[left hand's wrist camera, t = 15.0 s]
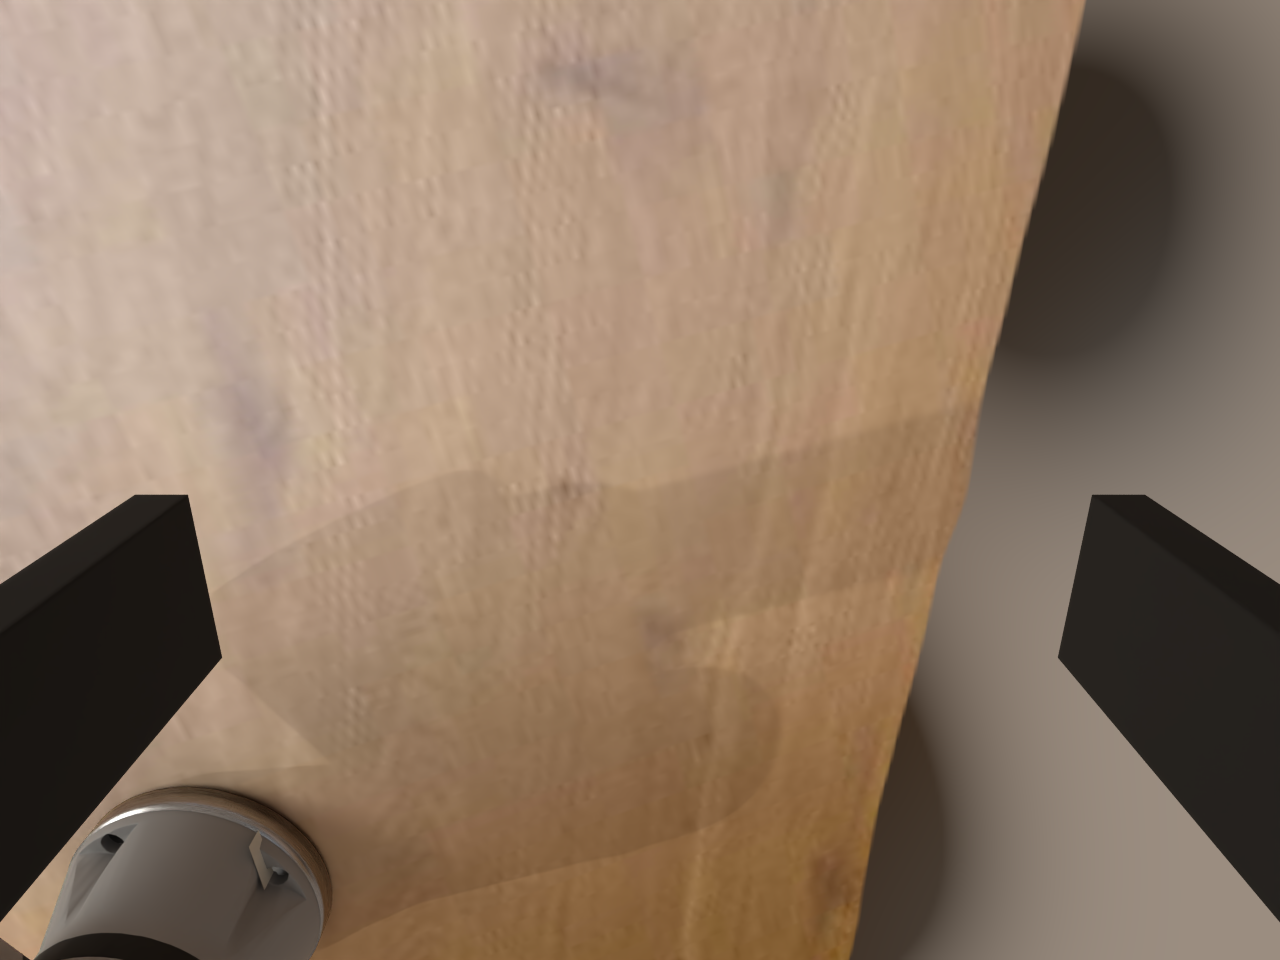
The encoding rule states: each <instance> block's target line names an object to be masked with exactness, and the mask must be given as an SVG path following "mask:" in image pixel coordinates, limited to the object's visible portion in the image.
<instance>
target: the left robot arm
mask: <svg viewBox="0 0 1280 960" xmlns="http://www.w3.org/2000/svg"><path fill="white" fill-rule="evenodd" d="M221 658H222V655H221V650H220V645H219V641H218V636H217V631H216V626H215V622H214V617H213V612H212V607H211V603H210V598H209V593H208V588H207V584H206V579H205V574H204V569H203V564H202V560H201V555H200V550H199V545H198V541H197V536H196V531H195V526H194V522H193V517H192V512H191V507H190V503H189V498H188V495H134V496H133V497H131V498H130V499H128V500H127V501H125V502H124V503H122V504H120V505H119V506H117V507H116V508H114V509H113V510H111V511H110V512H108V513H107V514H105V515H104V516H102V517H101V518H99V519H98V520H96V521H95V522H93V523H92V524H90V525H89V526H87V527H86V528H84V529H83V530H81V531H80V532H78V533H77V534H75V535H74V536H72V537H71V538H69V539H68V540H66V541H65V542H63V543H62V544H60V545H59V546H57V547H56V548H54V549H53V550H51V551H50V552H48V553H47V554H45V555H44V556H42V557H41V558H39V559H38V560H36V561H35V562H33V563H32V564H30V565H29V566H27V567H26V568H24V569H23V570H21V571H20V572H18V573H17V574H15V575H14V576H12V577H11V578H9V579H8V580H6V581H5V582H3V583H2V584H0V922H1V920H2V919H3V918H4V917H5V916H6V915H7V913H8V912H9V911H10V910H11V909H12V907H13V906H14V905H15V904H16V903H17V901H18V900H19V899H20V898H21V897H22V895H23V894H24V893H25V892H26V891H27V889H28V888H29V887H30V886H31V885H32V884H33V882H34V881H35V880H36V879H37V878H38V876H39V875H40V874H41V873H42V872H43V870H44V869H45V868H46V867H47V866H48V864H49V863H50V862H51V861H52V860H53V859H54V857H55V856H56V855H57V854H58V853H59V851H60V850H61V849H62V848H63V847H64V845H65V844H66V843H67V842H68V841H69V839H70V838H71V837H72V836H73V835H74V833H75V832H76V831H77V830H78V829H79V828H80V826H81V825H82V824H83V823H84V822H85V820H86V819H87V818H88V817H89V816H90V814H91V813H92V812H93V811H94V810H95V808H96V807H97V806H98V805H99V804H100V802H101V801H102V800H103V799H104V798H105V797H106V795H107V794H108V793H109V792H110V791H111V789H112V788H113V787H114V786H115V785H116V783H117V782H118V781H119V780H120V779H121V777H122V776H123V775H124V774H125V773H126V771H127V770H128V769H129V768H130V767H131V766H132V764H133V763H134V762H135V761H136V760H137V758H138V757H139V756H140V755H141V754H142V752H143V751H144V750H145V749H146V748H147V746H148V745H149V744H150V743H151V742H152V740H153V739H154V738H155V737H156V736H157V735H158V733H159V732H160V731H161V730H162V729H163V727H164V726H165V725H166V724H167V723H168V721H169V720H170V719H171V718H172V717H173V715H174V714H175V713H176V712H177V711H178V709H179V708H180V707H181V706H182V705H183V704H184V702H185V701H186V700H187V699H188V698H189V696H190V695H191V694H192V693H193V692H194V690H195V689H196V688H197V687H198V686H199V684H200V683H201V682H202V681H203V680H204V678H205V677H206V676H207V675H208V674H209V673H210V671H211V670H212V669H213V668H214V667H215V665H216V664H217V663H218V662H219V661H220V659H221ZM1058 658H1059V659H1060V661H1061V662H1062V663H1063V664H1064V665H1065V667H1066V668H1067V669H1068V670H1069V671H1070V673H1071V674H1072V675H1073V676H1074V677H1075V678H1076V680H1077V681H1078V682H1079V683H1080V684H1081V686H1082V687H1083V688H1084V689H1085V690H1086V692H1087V693H1088V694H1089V695H1090V696H1091V698H1092V699H1093V700H1094V701H1095V702H1096V703H1097V705H1098V706H1099V707H1100V708H1101V709H1102V711H1103V712H1104V713H1105V714H1106V715H1107V717H1108V718H1109V719H1110V720H1111V721H1112V723H1113V724H1114V725H1115V726H1116V727H1117V729H1118V730H1119V731H1120V732H1121V733H1122V735H1123V736H1124V737H1125V738H1126V739H1127V740H1128V742H1129V743H1130V744H1131V745H1132V746H1133V748H1134V749H1135V750H1136V751H1137V752H1138V754H1139V755H1140V756H1141V757H1142V758H1143V760H1144V761H1145V762H1146V763H1147V764H1148V766H1149V767H1150V768H1151V769H1152V770H1153V771H1154V773H1155V774H1156V775H1157V776H1158V777H1159V779H1160V780H1161V781H1162V782H1163V783H1164V785H1165V786H1166V787H1167V788H1168V789H1169V791H1170V792H1171V793H1172V794H1173V795H1174V797H1175V798H1176V799H1177V800H1178V801H1179V802H1180V804H1181V805H1182V806H1183V807H1184V808H1185V810H1186V811H1187V812H1188V813H1189V814H1190V815H1191V817H1192V818H1193V819H1194V820H1195V822H1196V823H1197V824H1198V825H1199V826H1200V828H1201V829H1202V830H1203V831H1204V832H1205V833H1206V835H1207V836H1208V837H1209V838H1210V839H1211V841H1212V842H1213V843H1214V844H1215V845H1216V847H1217V848H1218V849H1219V850H1220V851H1221V853H1222V854H1223V855H1224V856H1225V857H1226V859H1227V860H1228V861H1229V862H1230V863H1231V864H1232V866H1233V867H1234V868H1235V869H1236V870H1237V872H1238V873H1239V874H1240V875H1241V876H1242V878H1243V879H1244V880H1245V881H1246V882H1247V884H1248V885H1249V886H1250V887H1251V888H1252V889H1253V891H1254V892H1255V893H1256V894H1257V895H1258V897H1259V898H1260V899H1261V900H1262V901H1263V903H1264V904H1265V905H1266V906H1267V907H1268V909H1269V910H1270V911H1271V912H1272V913H1273V915H1274V916H1275V917H1276V918H1277V919H1278V920H1279V922H1280V584H1278V583H1277V582H1275V581H1274V580H1272V579H1271V578H1269V577H1268V576H1266V575H1265V574H1263V573H1262V572H1260V571H1259V570H1257V569H1256V568H1254V567H1253V566H1251V565H1250V564H1248V563H1247V562H1245V561H1244V560H1242V559H1241V558H1239V557H1238V556H1236V555H1235V554H1233V553H1232V552H1230V551H1229V550H1227V549H1226V548H1224V547H1223V546H1221V545H1220V544H1218V543H1217V542H1215V541H1214V540H1212V539H1211V538H1209V537H1208V536H1206V535H1205V534H1203V533H1202V532H1200V531H1199V530H1197V529H1196V528H1194V527H1193V526H1191V525H1190V524H1188V523H1187V522H1185V521H1184V520H1182V519H1181V518H1179V517H1178V516H1176V515H1175V514H1173V513H1172V512H1170V511H1169V510H1167V509H1165V508H1164V507H1162V506H1161V505H1159V504H1158V503H1156V502H1155V501H1153V500H1152V499H1150V498H1149V497H1147V496H1146V495H1092V498H1091V503H1090V507H1089V512H1088V517H1087V522H1086V526H1085V531H1084V536H1083V541H1082V545H1081V550H1080V555H1079V560H1078V565H1077V569H1076V574H1075V579H1074V584H1073V588H1072V593H1071V598H1070V603H1069V607H1068V612H1067V617H1066V622H1065V626H1064V631H1063V636H1062V641H1061V645H1060V650H1059V655H1058ZM331 904H332V888H331V882H330V878H329V874H328V871H327V869H326V866H325V864H324V862H323V860H322V858H321V857H320V855H319V853H318V852H317V850H316V849H315V847H314V846H313V845H312V843H311V842H310V841H309V840H308V839H307V838H306V836H304V835H303V834H302V833H301V832H300V831H299V830H298V829H297V828H296V827H295V826H294V825H293V824H291V823H290V822H289V821H288V820H286V819H285V818H283V817H282V816H280V815H279V814H277V813H276V812H274V811H272V810H271V809H269V808H267V807H265V806H263V805H261V804H259V803H257V802H254V801H252V800H249V799H247V798H244V797H241V796H238V795H235V794H232V793H228V792H224V791H219V790H213V789H207V788H196V787H176V788H166V789H159V790H154V791H150V792H146V793H143V794H140V795H137V796H135V797H133V798H130V799H128V800H126V801H124V802H123V803H121V804H119V805H118V806H116V807H115V808H113V809H112V810H111V811H110V812H108V813H107V814H106V815H105V816H104V817H103V818H102V819H101V820H100V822H99V823H98V824H97V825H96V827H95V828H94V829H93V830H92V831H91V833H90V834H89V835H88V836H87V838H86V839H85V840H84V841H83V843H82V844H81V845H80V846H79V848H78V849H77V851H76V852H75V854H74V856H73V858H72V860H71V863H70V865H69V869H68V872H67V875H66V877H65V880H64V883H63V886H62V889H61V891H60V894H59V897H58V900H57V903H56V906H55V908H54V911H53V914H52V917H51V920H50V922H49V925H48V928H47V931H46V934H45V936H44V939H43V942H42V945H41V948H40V950H39V953H38V954H37V956H36V957H35V958H34V960H309V959H310V958H311V956H312V954H313V953H314V951H315V949H316V947H317V944H318V942H319V940H320V937H321V935H322V932H323V930H324V927H325V925H326V922H327V920H328V917H329V914H330V910H331ZM0 960H30V959H28V958H27V957H25V956H24V955H23V954H22V953H20V952H19V951H17V950H16V949H15V948H13V947H12V946H11V945H9V944H8V943H7V942H5V941H4V940H2V939H1V938H0Z"/></svg>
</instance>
